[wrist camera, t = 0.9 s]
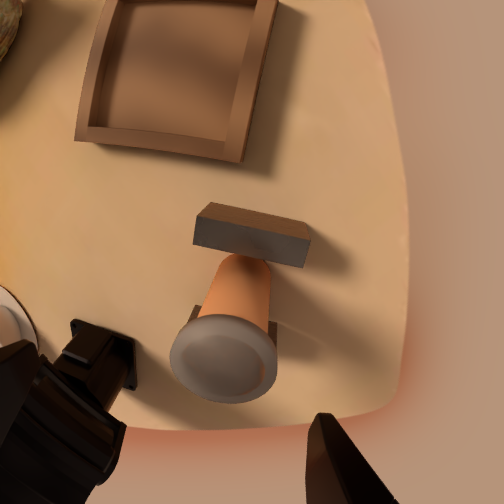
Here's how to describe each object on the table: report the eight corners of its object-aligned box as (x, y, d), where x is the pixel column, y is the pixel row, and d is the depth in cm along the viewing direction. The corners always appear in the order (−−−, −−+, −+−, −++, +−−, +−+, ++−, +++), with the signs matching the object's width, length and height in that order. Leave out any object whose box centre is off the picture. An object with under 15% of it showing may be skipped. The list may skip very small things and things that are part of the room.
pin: (269, 312, 21) (263, 411, 13) (206, 298, 21) (168, 390, 13) (285, 253, 20) (290, 338, 11) (215, 238, 20) (172, 312, 11)
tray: (243, 161, 18) (239, 163, 16) (88, 139, 18) (74, 140, 16) (278, 1, 14) (278, -11, 12) (121, -3, 14) (110, -11, 12)
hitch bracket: (271, 339, 22) (270, 371, 19) (193, 322, 22) (180, 351, 19) (304, 222, 19) (310, 240, 16) (210, 202, 19) (196, 215, 16)
